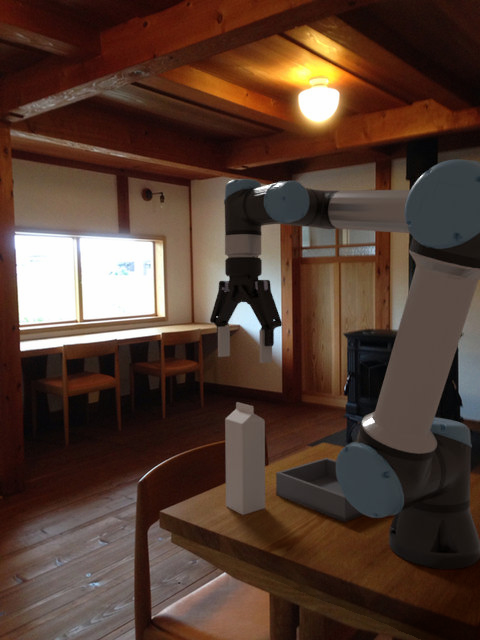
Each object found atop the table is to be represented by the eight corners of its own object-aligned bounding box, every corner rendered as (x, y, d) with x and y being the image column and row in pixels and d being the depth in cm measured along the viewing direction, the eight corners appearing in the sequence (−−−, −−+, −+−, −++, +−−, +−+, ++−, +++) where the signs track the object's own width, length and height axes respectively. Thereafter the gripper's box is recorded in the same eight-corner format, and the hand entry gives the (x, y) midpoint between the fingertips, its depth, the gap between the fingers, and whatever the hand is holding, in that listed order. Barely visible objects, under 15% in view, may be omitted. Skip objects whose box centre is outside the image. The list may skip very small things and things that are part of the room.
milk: (242, 515, 112) (241, 408, 111) (225, 506, 117) (224, 403, 116) (265, 508, 116) (264, 404, 114) (248, 499, 121) (247, 399, 119)
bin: (394, 501, 119) (395, 478, 119) (344, 522, 108) (344, 497, 108) (326, 478, 134) (326, 457, 134) (276, 494, 123) (276, 472, 123)
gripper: (299, 254, 107) (299, 363, 108) (221, 260, 126) (221, 352, 127) (271, 253, 102) (271, 367, 103) (193, 259, 121) (194, 355, 122)
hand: (244, 359), depth 115 cm, fingers open, 13 cm apart
